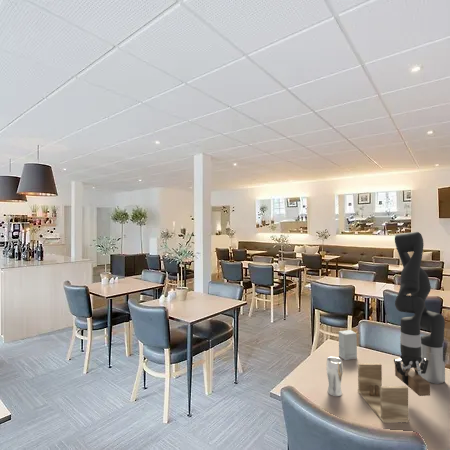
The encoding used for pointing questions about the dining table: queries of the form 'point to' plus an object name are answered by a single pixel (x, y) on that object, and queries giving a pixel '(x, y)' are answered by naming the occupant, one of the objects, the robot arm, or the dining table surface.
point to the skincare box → (347, 344)
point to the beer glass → (334, 375)
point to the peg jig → (382, 394)
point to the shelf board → (416, 383)
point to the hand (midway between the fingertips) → (411, 383)
